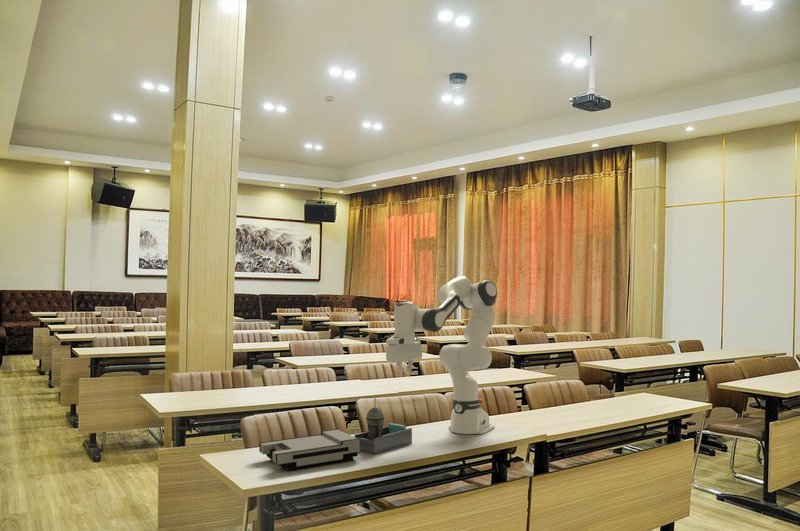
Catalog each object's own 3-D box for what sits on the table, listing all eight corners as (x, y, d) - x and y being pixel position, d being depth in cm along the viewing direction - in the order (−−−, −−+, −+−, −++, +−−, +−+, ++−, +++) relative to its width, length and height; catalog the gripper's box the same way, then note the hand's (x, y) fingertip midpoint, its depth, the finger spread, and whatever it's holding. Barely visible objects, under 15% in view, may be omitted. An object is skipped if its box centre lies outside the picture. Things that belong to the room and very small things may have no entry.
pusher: (391, 437, 256) (390, 423, 256) (406, 440, 250) (405, 425, 251) (388, 438, 255) (388, 423, 255) (403, 440, 249) (403, 426, 249)
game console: (259, 461, 227) (259, 439, 227) (336, 449, 243) (336, 428, 243) (277, 475, 209) (277, 451, 209) (359, 461, 225) (359, 439, 225)
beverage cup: (384, 444, 245) (383, 395, 246) (384, 449, 237) (384, 398, 238) (366, 444, 244) (366, 395, 245) (366, 449, 237) (365, 398, 238)
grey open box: (392, 438, 258) (392, 424, 259) (411, 442, 251) (411, 428, 251) (354, 449, 241) (354, 434, 241) (374, 454, 234) (374, 438, 234)
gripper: (414, 337, 269) (414, 368, 268) (383, 340, 253) (383, 373, 252) (425, 337, 264) (425, 369, 264) (394, 340, 249) (395, 374, 248)
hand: (405, 371), depth 258 cm, fingers open, 4 cm apart
